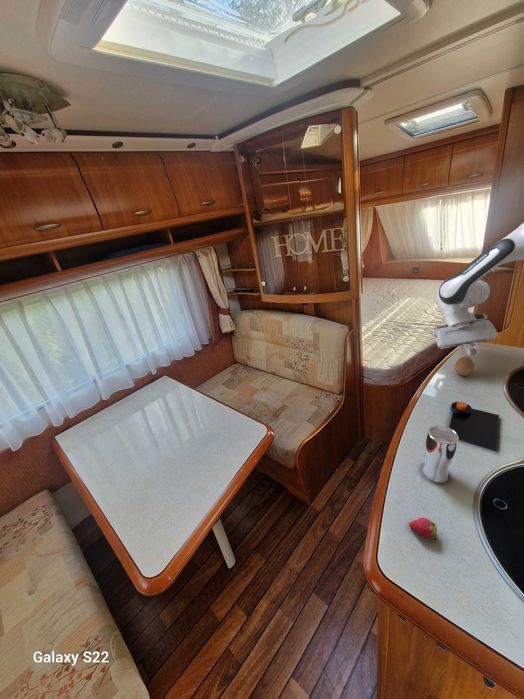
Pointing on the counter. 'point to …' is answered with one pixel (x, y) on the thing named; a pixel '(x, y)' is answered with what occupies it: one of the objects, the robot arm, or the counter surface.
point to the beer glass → (439, 452)
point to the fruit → (424, 528)
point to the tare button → (461, 406)
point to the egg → (464, 366)
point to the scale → (475, 426)
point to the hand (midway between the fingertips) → (473, 354)
